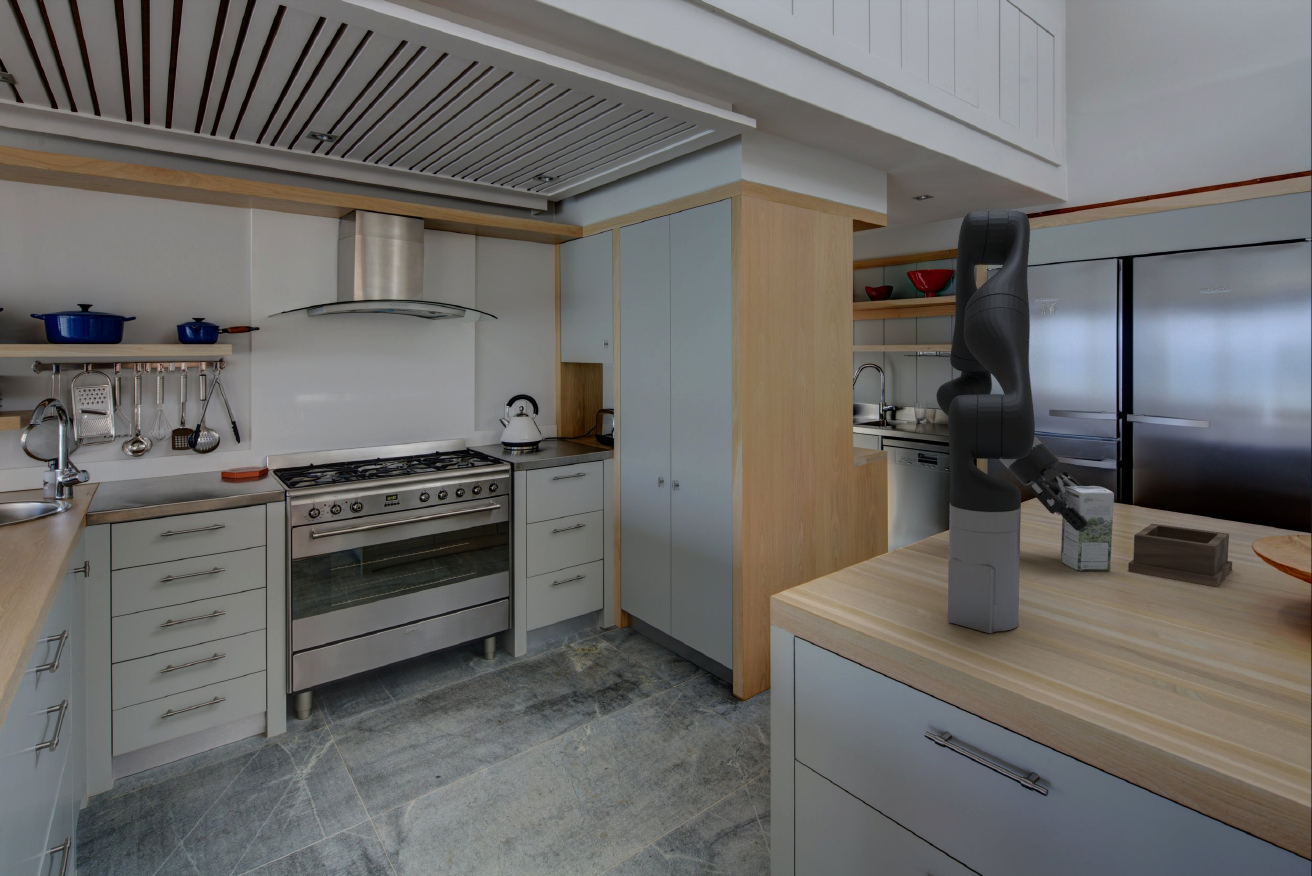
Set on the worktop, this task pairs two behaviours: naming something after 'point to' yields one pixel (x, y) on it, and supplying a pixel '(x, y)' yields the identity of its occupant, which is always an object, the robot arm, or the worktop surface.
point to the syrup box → (1089, 529)
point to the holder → (1181, 554)
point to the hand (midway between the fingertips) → (1091, 523)
